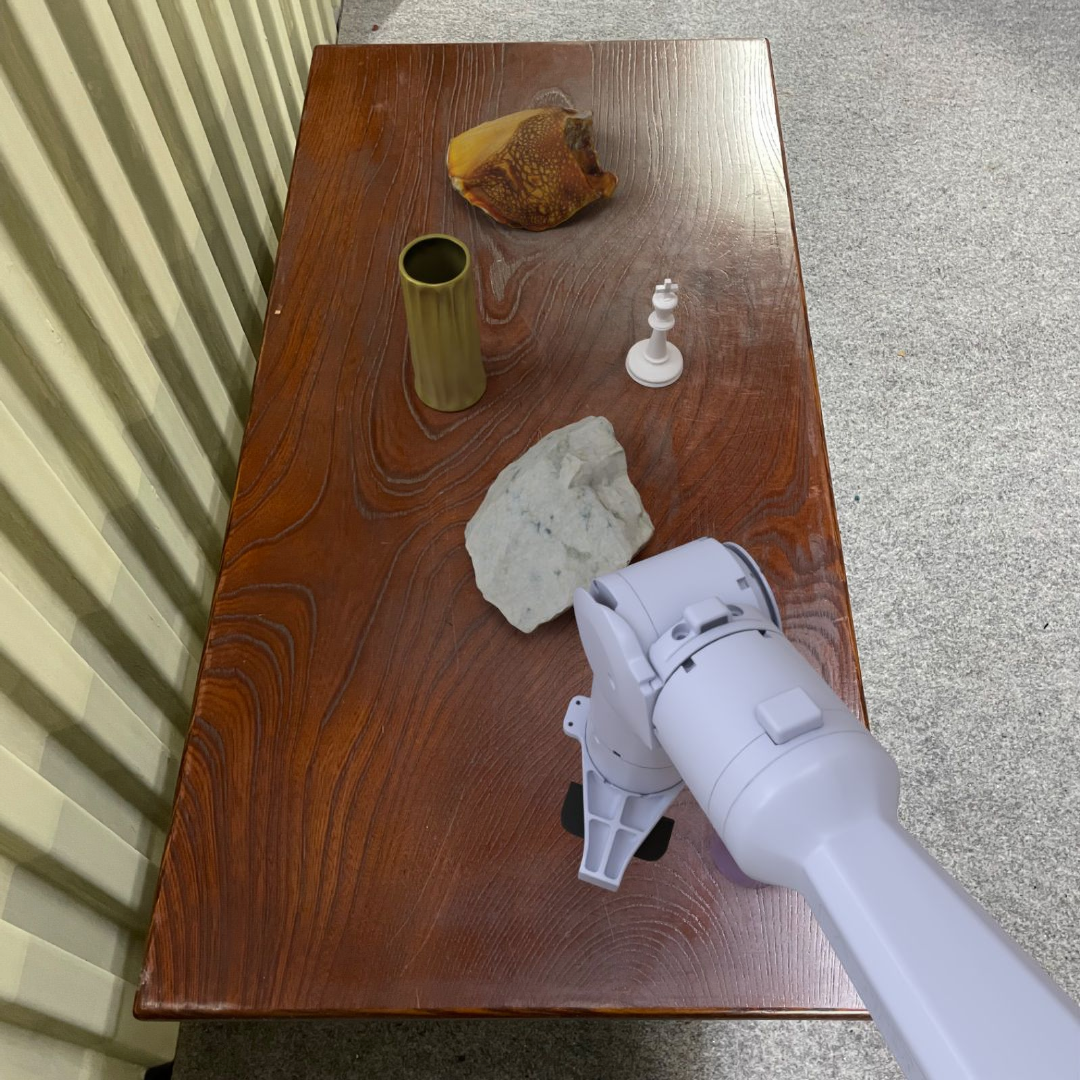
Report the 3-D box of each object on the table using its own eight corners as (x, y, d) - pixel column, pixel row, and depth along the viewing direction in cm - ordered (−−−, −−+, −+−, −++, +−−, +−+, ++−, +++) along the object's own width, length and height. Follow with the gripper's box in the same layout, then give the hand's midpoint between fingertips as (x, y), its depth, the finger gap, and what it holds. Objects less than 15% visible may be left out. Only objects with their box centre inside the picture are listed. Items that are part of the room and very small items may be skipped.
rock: (416, 515, 74) (403, 458, 67) (581, 424, 78) (586, 361, 71) (523, 667, 67) (521, 622, 60) (696, 558, 72) (713, 505, 65)
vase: (475, 348, 82) (463, 220, 69) (496, 402, 79) (487, 279, 66) (407, 366, 81) (382, 239, 68) (425, 421, 78) (403, 299, 65)
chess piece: (621, 345, 82) (631, 260, 73) (677, 340, 82) (693, 255, 73) (630, 390, 79) (641, 307, 71) (687, 385, 80) (706, 302, 71)
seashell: (428, 193, 85) (450, 65, 90) (447, 246, 92) (467, 125, 97) (612, 191, 82) (624, 59, 87) (617, 246, 89) (629, 121, 94)
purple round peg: (776, 902, 60) (799, 887, 55) (699, 867, 61) (714, 850, 56) (799, 826, 62) (824, 805, 57) (725, 794, 63) (741, 770, 58)
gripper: (615, 551, 47) (600, 653, 59) (516, 830, 41) (521, 881, 53) (752, 593, 46) (708, 688, 58) (673, 886, 40) (642, 926, 51)
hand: (627, 783), depth 55 cm, fingers closed on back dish, 5 cm apart
